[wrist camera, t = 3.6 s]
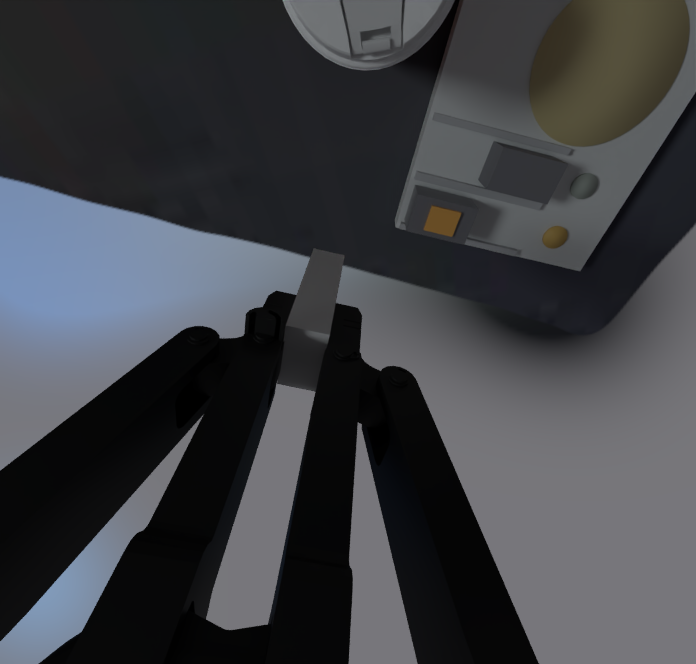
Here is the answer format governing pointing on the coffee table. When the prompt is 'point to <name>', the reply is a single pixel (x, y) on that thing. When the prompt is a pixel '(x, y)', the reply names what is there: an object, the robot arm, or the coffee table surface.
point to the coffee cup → (367, 28)
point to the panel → (552, 116)
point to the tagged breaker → (440, 215)
